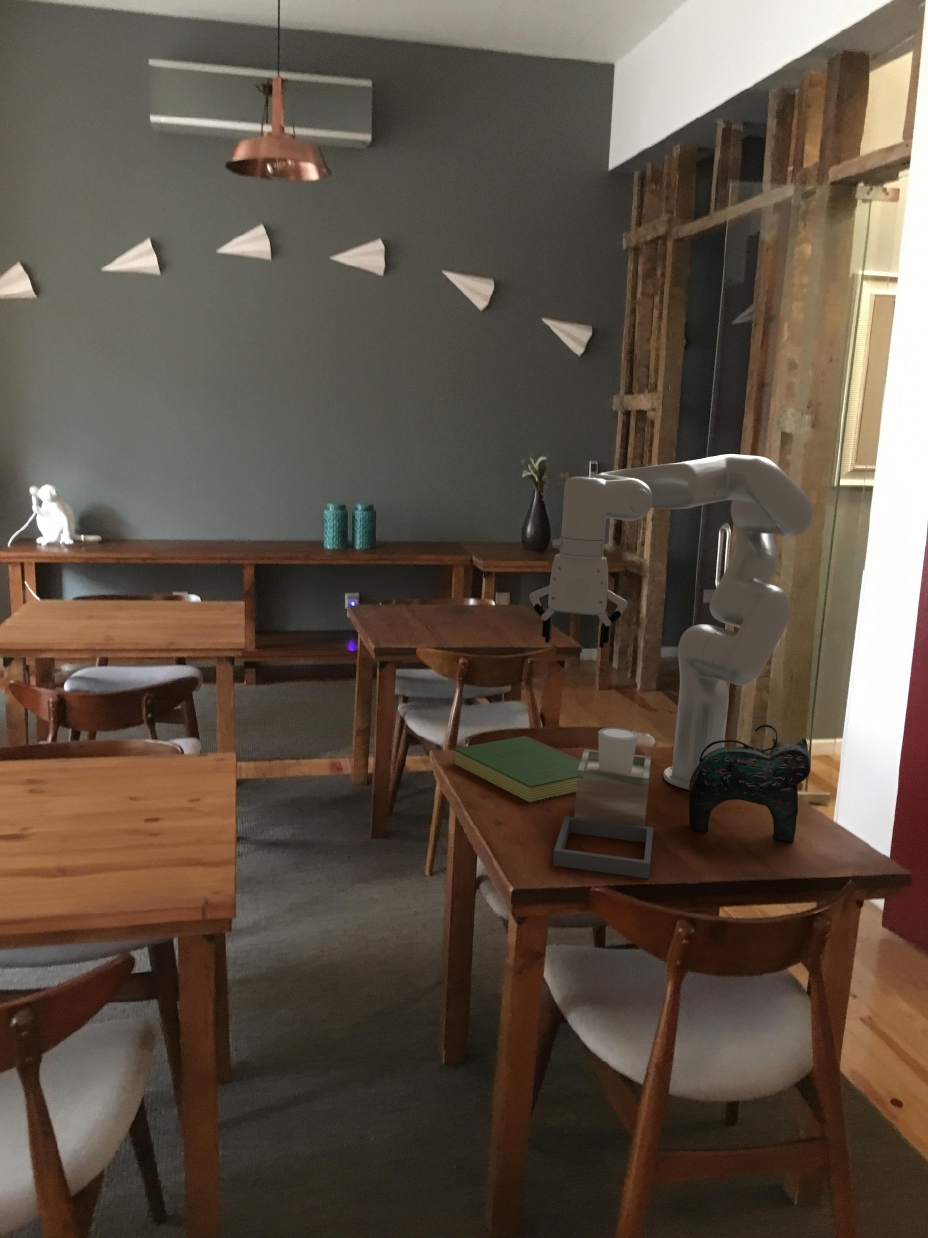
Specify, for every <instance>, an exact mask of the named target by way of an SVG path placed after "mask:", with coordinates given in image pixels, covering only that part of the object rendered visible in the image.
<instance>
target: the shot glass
mask: <svg viewBox="0 0 928 1238" xmlns="http://www.w3.org/2000/svg"><path fill="white" fill-rule="evenodd" d="M597 734H598V736H597V737H598V740H597V741H598V751H599V771H607V772H616V773H624V774H630V773H631V770H632V765H633V759H634V755H636V753H635V752H636V748H637V747H636V746H637V741H638V737H639V736H638V733H636V732H635V731H633V730H629V729H626V728H620V727H604V728H601V729H599V730H598V732H597Z"/></svg>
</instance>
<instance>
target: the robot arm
mask: <svg viewBox="0 0 928 1238" xmlns="http://www.w3.org/2000/svg"><path fill="white" fill-rule="evenodd" d="M724 501H731V505H730V514H731V519H732V523H733V526H734V530H735V531H734V532H735V536H736V546H735V551H734V554H733V556H732V558H731V561H730V563H729V564H728V566H727V568H726V569H725V571H724V573H723V576H722V577H721V578H720V581H719V583H718V585H717V587H716V588H715V590H714V592H713V594H712V596H711V600H710V601H709V602H710V603H709V612H710V614H711V615H712V617H713V618H714V619H715V620H717V621H718V622H720V623H723V624H725V625H728V626H731V627H735V628H738V629H739V630H738V632H737V631H733V630H730V629H728V628H724V627H720V626H715V625H712V624H705V623H704V624H702V623H700V624H696V625H692V626H690V627H688V628H687V629H686V630H685V631H684V632H683V633H682V635H681V636H680V639H679V643H678V645H677V646H678V649H677V655H678V656H677V657H678V665H679V666H678V667H679V693H678V695H679V696H678V704H677V714H676V722H675V723H676V725H675V733H674V734H675V735H674V743H673V745H674V746H673V755H672V766H669V767H667V768H665V769H664V771H663V779H664V780H665V781H666V782H667V783H669V784H671V785H673V786H675V787H677V788H680V789H685V790H688V791H689V784H690V779H691V776H692V774H693V772H694V770H695V769H696V767H697V766H698V764H699V763H700V761H699V758H700V755H701V753H702V751H703V750H704V749H705V747H706V746H707V745H709V744H710V743H712V742H715V741H719V740H726V739H725V736H726V728H727V720H728V709H729V702H730V701H729V700H730V697H729V688H728V684H727V683H730V684H733V685H739V686H745V685H746V686H747V685H749V684H751V683H752V682H754V681H755V680H756V679H757V678H758V677H759V676H760V674H761V673H762V672H763V670H764V669H765V666H766V665H767V663H768V661H769V659H770V658H771V656H772V654H773V652H774V650H775V649H776V646H777V645H778V643H779V640H780V639H781V637H782V635H783V634H784V631H785V629H786V628H787V625H788V623H789V619H790V614H791V602H790V598H789V596H788V594H787V593H786V592H785V590H783V589H782V588H781V587H780V586H777V585H775V584H770V583H771V581H772V578H773V576H774V574H775V572H776V569H777V566H778V561H779V555H778V549H777V545H776V541H775V538H774V536H781V537H786V538H788V537H789V538H792V537H797V536H799V535H802V534H803V533H804V532H806V531H807V530H808V529H809V527H810V525H811V523H812V520H813V515H814V514H813V506H812V503H811V501H810V499H809V497H808V496H807V494H806V493H805V492H804V491H803V490H802V489H801V488H800V487H799V486H798V485H797V484H796V482H794V480H793V479H792V478H790V476H789V475H787V473H785V471H783V470H782V468H780V467H779V466H778V465H777V463H775V462H773V461H772V460H771V459H769V458H766V457H764V456H758V455H747V454H746V455H745V454H734V453H732V454H731V453H729V454H719V455H716V456H708V457H705V458H700V459H699V458H698V459H692V460H686V461H681V462H675V463H663V464H657V465H650V466H641V467H639V466H638V467H632V468H631V467H630V468H623V469H618V470H611V471H605V472H600V473H596V474H594V475H592V476H571V477H569V478H567V480H566V481H565V484H564V491H563V504H562V505H563V506H562V520H561V533H560V537H559V538H558V539H552V542H551V543H552V544H551V545H552V546H551V547H552V548H555V549H558V550H559V553H557V554H555V555H554V558H553V559H554V560H553V561H552V568H551V574H550V580H549V585H546V586H545V587H542V588H540V589H537V590H534V591H533V592H531V593H530V594H529V595H528V598H529V600H530V602H531V604H532V605H533V606H532V607H533V609H534V610H535V612H536V613H537V614H538V616H539V617H540V618H541V620H542V629H541V631H542V633H541V637H542V638H545V640H544V643H545V644H548V643H550V642H551V641H552V630H553V619H552V615H553V614H554V613H555V612H556V613H562V614H563V613H564V614H574V615H575V614H576V615H585V616H587V615H588V616H598V617H599V620H601V622H602V623H601V626H600V634H599V635H600V636H599V648H600V649H604V647H605V644H608V643H609V642H610V641H609V639H610V627H611V625H612V624H613V623H615V622H616V621H617V620H618V619H619V618H620V617H621V616H622V615H623V613H624V611H625V610H626V609H627V607H628V605H629V603H628V602H629V601H627V600H626V599H624V598H623V597H621V596H619V594H616V593H614V592H613V591H611V590H610V589H609V567H608V566H609V565H608V559H607V558H608V557H606V556H604V549H605V537H606V536H605V535H606V522H607V519H614V520H619V521H625V522H627V521H628V522H632V521H637V520H640V519H642V518H643V517H645V516H647V514H648V513H649V512H650V511H651V510H652V509H662V510H685V509H692V508H696V507H700V506H703V505H704V506H705V505H709V504H715V503H719V502H724ZM546 595H548V598H547V599H548V601H547V603H548V608H547V609H546V608H545V607H544V606H543V605H542V603H541V601H540V598H542V597H544V596H546ZM608 600H609V601H611V602H613V603H614V604H616V605H617V607H616V609H615V610H614V611H613V612H612V613H611V614H609V613H608V612H607V610H606V609H607V605H608ZM721 747H725V743H717V744H714V745H712V746H711V747H709V748H708V749H707V750H706V751H705V752H704V754H703V756H702V758H703V757H704V756H705V755H707V754H708V753H710V752H712V751H714V750H716V749H718V748H721Z"/></svg>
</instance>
